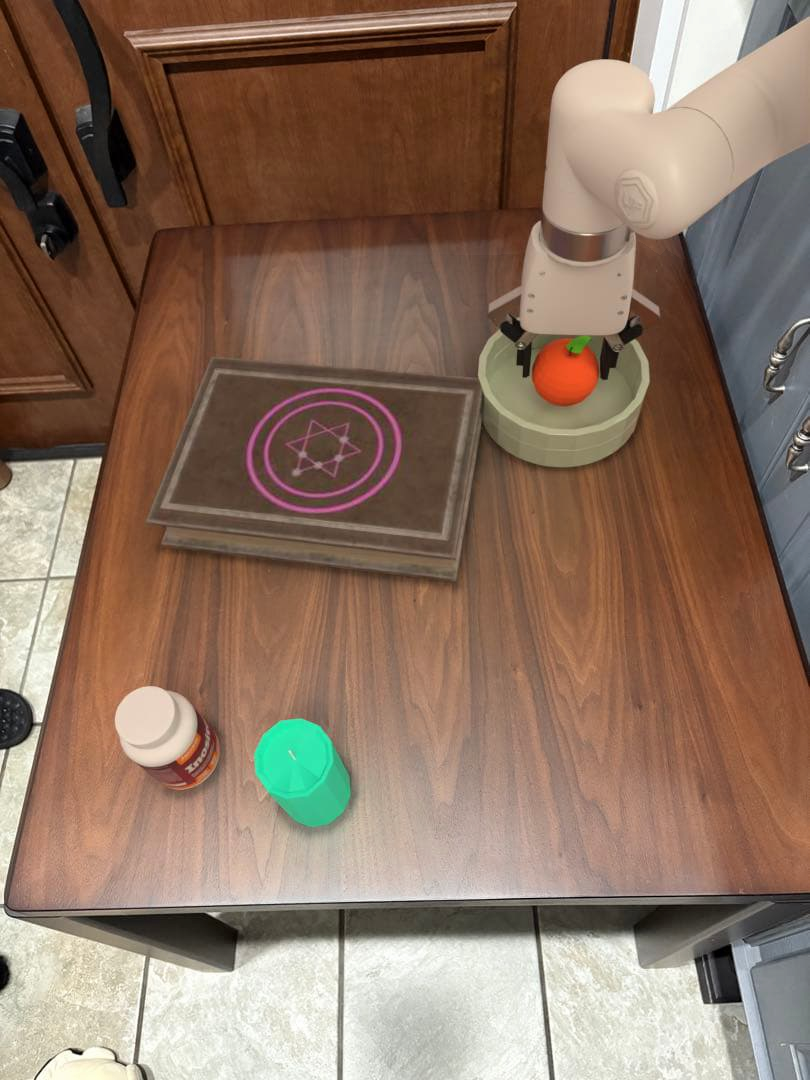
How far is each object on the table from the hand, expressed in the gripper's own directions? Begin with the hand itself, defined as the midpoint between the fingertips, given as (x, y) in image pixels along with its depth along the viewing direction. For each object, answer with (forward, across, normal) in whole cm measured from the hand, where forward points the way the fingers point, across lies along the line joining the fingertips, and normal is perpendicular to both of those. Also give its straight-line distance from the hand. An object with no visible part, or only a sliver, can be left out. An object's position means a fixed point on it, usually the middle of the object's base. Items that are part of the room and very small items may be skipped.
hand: (564, 368), depth 83 cm
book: (+6, +24, +11) cm, 27 cm away
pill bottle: (+6, +32, +42) cm, 53 cm away
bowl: (+6, 0, 0) cm, 6 cm away
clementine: (+4, 0, 0) cm, 4 cm away
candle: (+6, +20, +44) cm, 49 cm away
